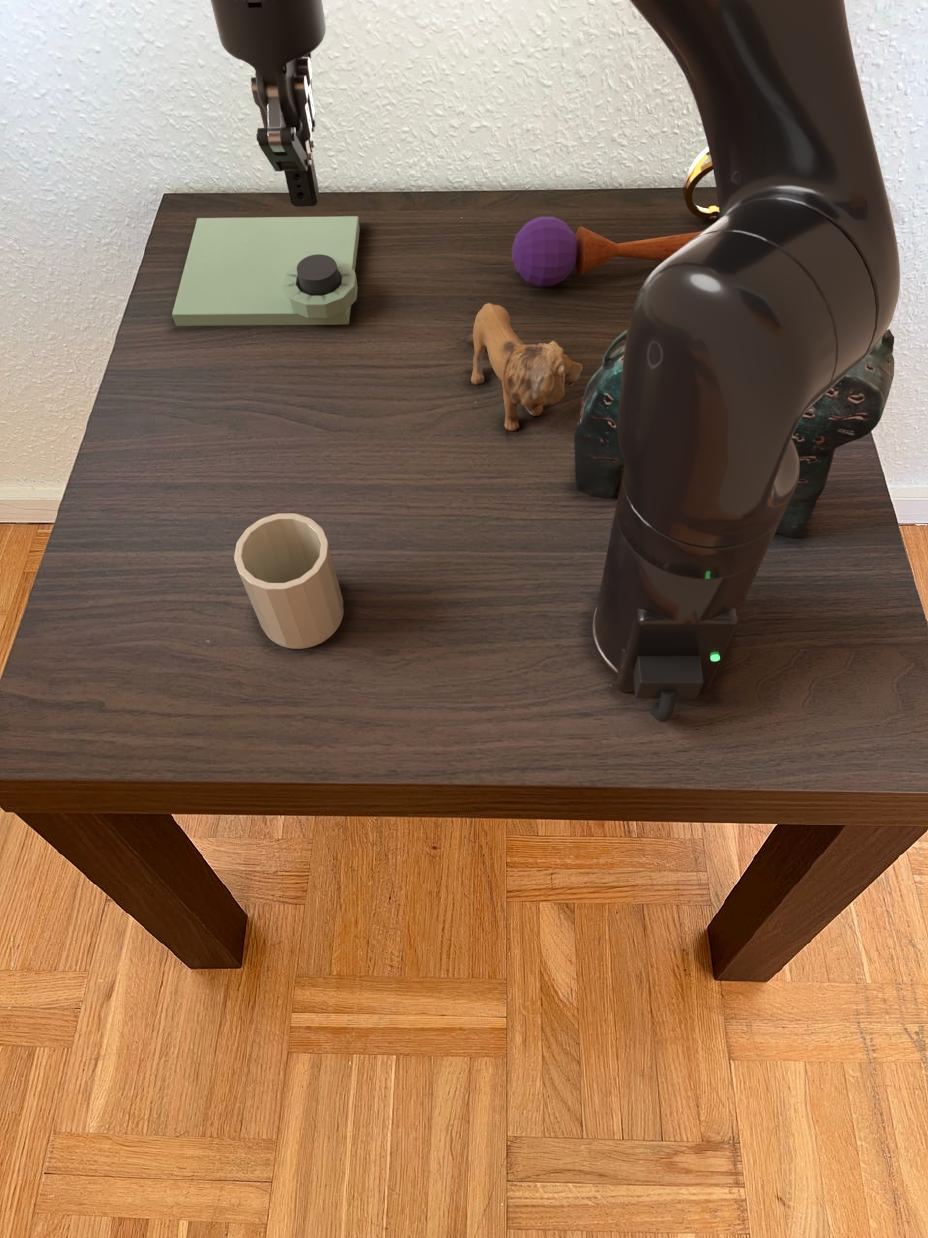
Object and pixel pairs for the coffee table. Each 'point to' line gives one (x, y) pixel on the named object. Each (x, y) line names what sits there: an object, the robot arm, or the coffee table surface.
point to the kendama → (578, 250)
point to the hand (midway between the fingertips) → (305, 200)
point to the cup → (290, 579)
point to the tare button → (318, 275)
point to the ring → (692, 180)
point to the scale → (265, 271)
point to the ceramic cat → (816, 436)
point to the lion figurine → (519, 365)
